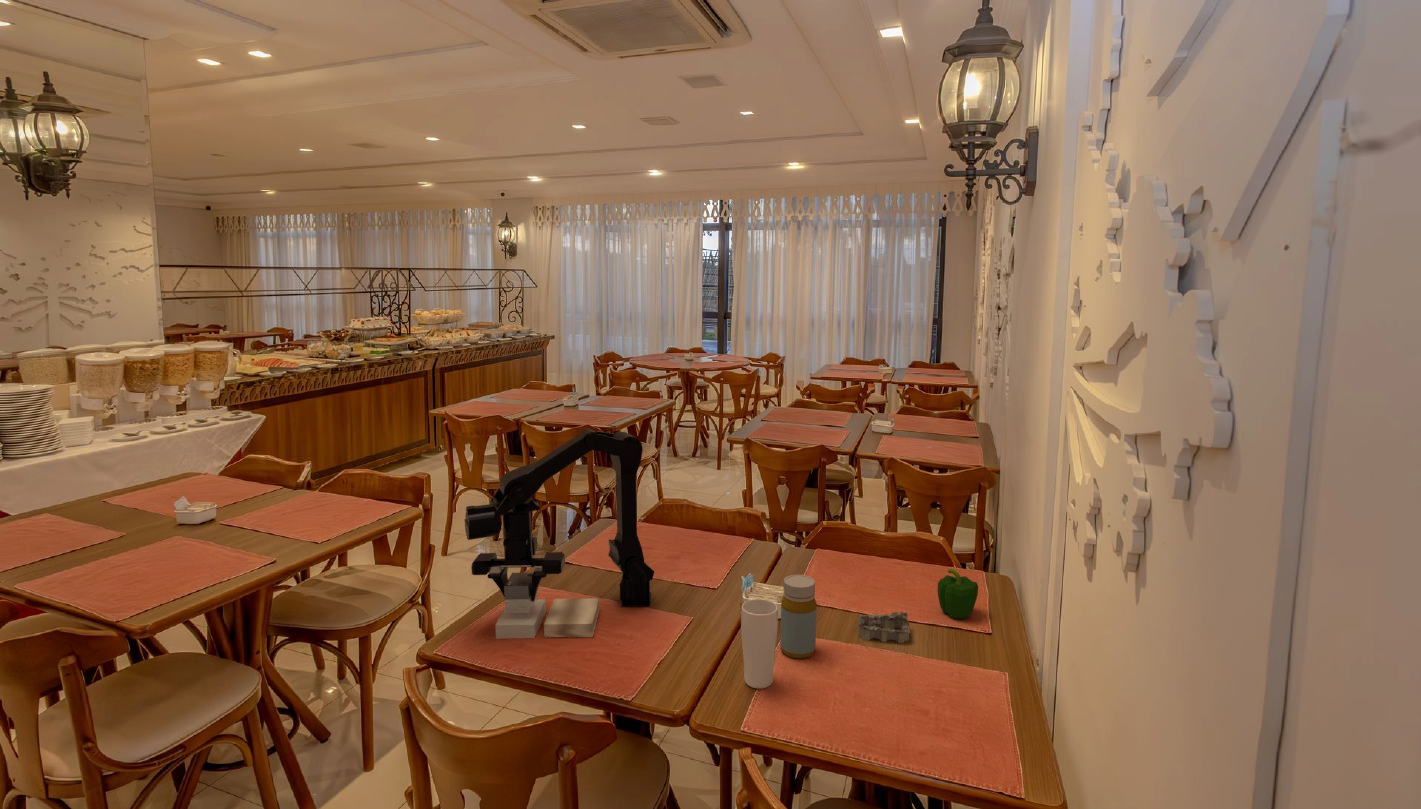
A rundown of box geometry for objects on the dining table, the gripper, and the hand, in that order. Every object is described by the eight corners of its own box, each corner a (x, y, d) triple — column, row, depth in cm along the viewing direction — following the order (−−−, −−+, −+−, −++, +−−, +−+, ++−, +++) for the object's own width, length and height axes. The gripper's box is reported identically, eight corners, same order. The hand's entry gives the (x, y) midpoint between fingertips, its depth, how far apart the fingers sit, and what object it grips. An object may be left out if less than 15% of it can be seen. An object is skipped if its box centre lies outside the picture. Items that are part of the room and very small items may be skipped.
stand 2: (599, 610, 162) (599, 598, 162) (592, 637, 151) (592, 623, 150) (554, 611, 162) (554, 599, 162) (544, 637, 150) (543, 624, 150)
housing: (536, 598, 159) (535, 571, 158) (529, 612, 152) (528, 584, 151) (513, 598, 159) (511, 571, 157) (505, 613, 152) (503, 584, 151)
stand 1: (545, 611, 162) (545, 599, 161) (534, 638, 150) (534, 624, 150) (510, 612, 162) (509, 599, 161) (496, 638, 150) (495, 625, 149)
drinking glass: (778, 692, 131) (779, 615, 128) (740, 692, 131) (741, 615, 128) (775, 672, 137) (777, 598, 135) (740, 671, 137) (740, 598, 135)
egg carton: (908, 629, 155) (909, 611, 154) (909, 647, 147) (910, 628, 147) (857, 623, 157) (858, 606, 156) (856, 640, 150) (857, 622, 149)
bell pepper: (984, 619, 159) (987, 576, 157) (953, 625, 156) (956, 581, 154) (959, 603, 166) (962, 562, 165) (929, 608, 164) (932, 567, 162)
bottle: (818, 645, 147) (820, 576, 145) (811, 662, 141) (813, 590, 138) (784, 640, 149) (786, 571, 147) (776, 656, 143) (778, 585, 140)
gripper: (568, 518, 161) (570, 584, 163) (483, 519, 160) (487, 585, 163) (559, 536, 150) (562, 606, 152) (468, 537, 149) (473, 608, 152)
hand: (521, 600), depth 155 cm, fingers closed on housing, 5 cm apart
